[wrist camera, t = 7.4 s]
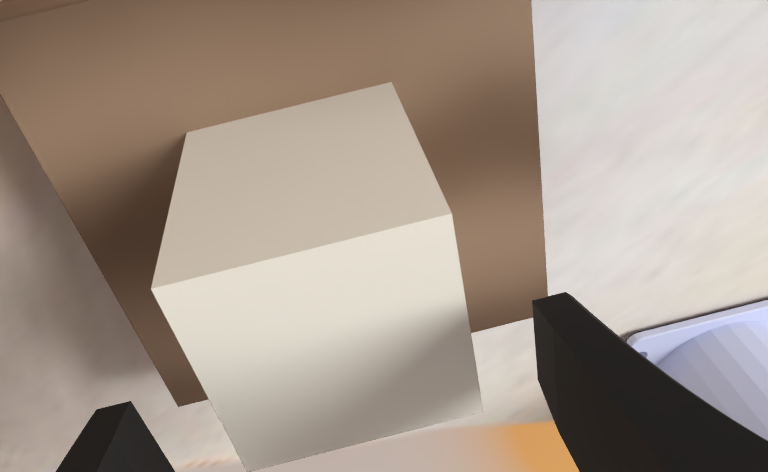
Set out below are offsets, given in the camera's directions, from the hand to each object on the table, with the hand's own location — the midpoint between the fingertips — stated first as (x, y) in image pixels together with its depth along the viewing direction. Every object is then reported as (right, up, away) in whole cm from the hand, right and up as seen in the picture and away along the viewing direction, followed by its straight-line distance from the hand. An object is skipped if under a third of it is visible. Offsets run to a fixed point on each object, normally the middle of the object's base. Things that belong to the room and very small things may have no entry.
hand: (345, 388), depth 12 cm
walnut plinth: (-1, +5, +8) cm, 10 cm away
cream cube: (-1, +4, +5) cm, 7 cm away
